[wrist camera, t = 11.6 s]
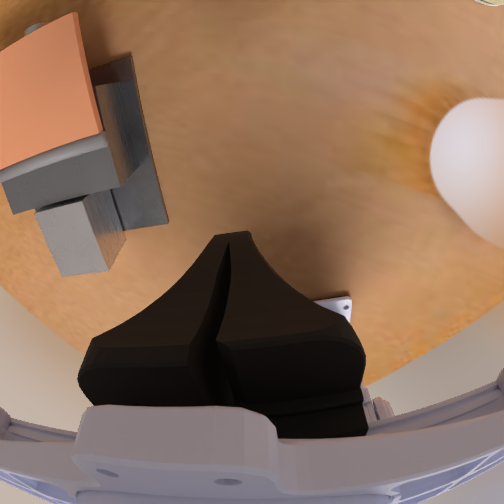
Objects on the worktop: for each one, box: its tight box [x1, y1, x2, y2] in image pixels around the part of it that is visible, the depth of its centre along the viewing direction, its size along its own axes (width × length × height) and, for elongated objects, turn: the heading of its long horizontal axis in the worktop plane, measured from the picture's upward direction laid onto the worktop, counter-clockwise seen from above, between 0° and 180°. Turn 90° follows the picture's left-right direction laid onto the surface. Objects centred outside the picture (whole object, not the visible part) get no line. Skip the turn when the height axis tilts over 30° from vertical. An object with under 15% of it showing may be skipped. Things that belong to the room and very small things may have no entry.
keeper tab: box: [0, 12, 109, 183], centre depth 13 cm, size 8×9×1 cm
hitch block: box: [2, 56, 169, 231], centre depth 18 cm, size 12×11×4 cm
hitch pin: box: [24, 22, 126, 277], centre depth 16 cm, size 17×4×4 cm, turn 7°
